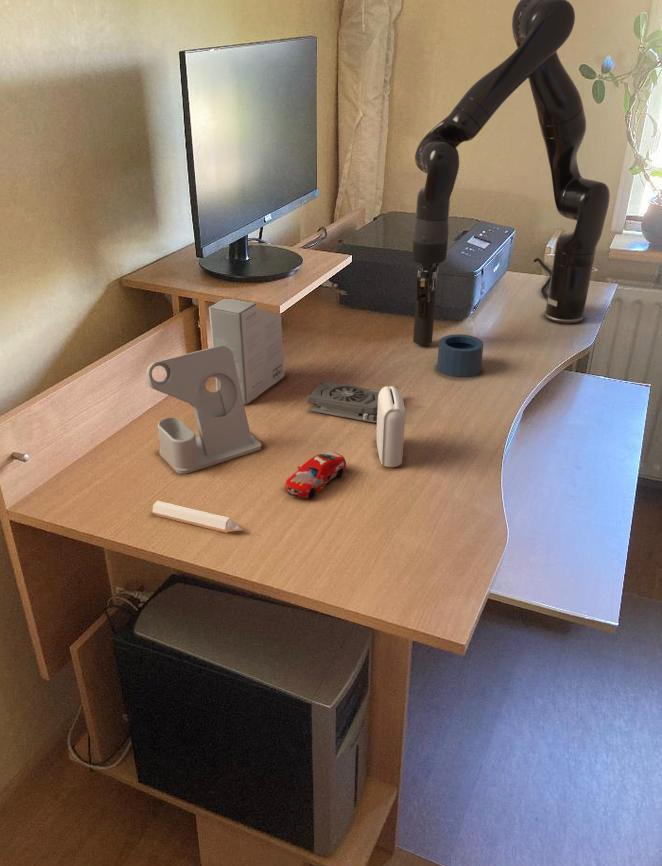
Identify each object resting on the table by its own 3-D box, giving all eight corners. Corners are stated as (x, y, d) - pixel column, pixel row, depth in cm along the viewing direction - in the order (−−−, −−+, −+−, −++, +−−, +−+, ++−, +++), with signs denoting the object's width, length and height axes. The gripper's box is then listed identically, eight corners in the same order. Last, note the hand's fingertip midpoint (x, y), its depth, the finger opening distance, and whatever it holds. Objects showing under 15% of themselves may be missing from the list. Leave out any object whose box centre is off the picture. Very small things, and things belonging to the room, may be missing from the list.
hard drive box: (255, 370, 174) (251, 282, 163) (285, 377, 170) (282, 288, 160) (215, 398, 162) (207, 305, 152) (246, 406, 159) (240, 312, 148)
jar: (440, 359, 177) (442, 332, 174) (482, 364, 175) (486, 336, 171) (433, 376, 170) (435, 348, 166) (477, 381, 167) (481, 353, 164)
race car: (303, 505, 129) (303, 485, 127) (279, 494, 132) (278, 473, 130) (351, 471, 137) (352, 452, 135) (327, 462, 140) (327, 442, 138)
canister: (415, 336, 185) (418, 287, 179) (433, 338, 184) (437, 289, 178) (411, 343, 182) (414, 293, 175) (430, 345, 181) (434, 295, 174)
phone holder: (178, 476, 137) (167, 382, 127) (155, 451, 144) (142, 361, 134) (263, 448, 145) (259, 358, 135) (237, 426, 152) (232, 339, 142)
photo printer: (374, 440, 147) (376, 380, 140) (397, 439, 147) (400, 379, 140) (379, 468, 138) (382, 406, 131) (403, 468, 138) (407, 405, 131)
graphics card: (403, 384, 159) (383, 408, 149) (402, 401, 160) (382, 426, 151) (326, 372, 165) (303, 394, 155) (326, 388, 167) (303, 411, 157)
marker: (244, 539, 122) (156, 517, 127) (249, 527, 123) (161, 505, 128) (240, 532, 120) (150, 509, 125) (245, 520, 121) (155, 498, 126)
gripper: (442, 248, 164) (436, 326, 173) (452, 230, 175) (445, 304, 184) (407, 245, 165) (402, 322, 175) (419, 228, 177) (414, 301, 186)
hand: (424, 313), depth 179 cm, fingers closed on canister, 4 cm apart
